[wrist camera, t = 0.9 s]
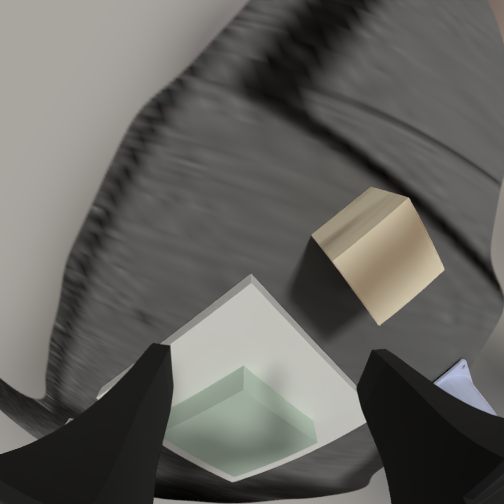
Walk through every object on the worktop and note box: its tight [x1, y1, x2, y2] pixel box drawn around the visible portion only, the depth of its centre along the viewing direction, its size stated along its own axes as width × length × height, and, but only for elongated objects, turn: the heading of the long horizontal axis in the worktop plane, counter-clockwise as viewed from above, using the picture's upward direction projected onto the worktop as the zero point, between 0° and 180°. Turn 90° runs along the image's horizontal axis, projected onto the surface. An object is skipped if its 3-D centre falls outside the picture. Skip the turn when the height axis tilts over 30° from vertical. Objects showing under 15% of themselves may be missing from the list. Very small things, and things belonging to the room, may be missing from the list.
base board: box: [97, 274, 366, 482], centre depth 21 cm, size 18×18×4 cm
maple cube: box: [311, 187, 445, 325], centre depth 16 cm, size 5×5×5 cm
